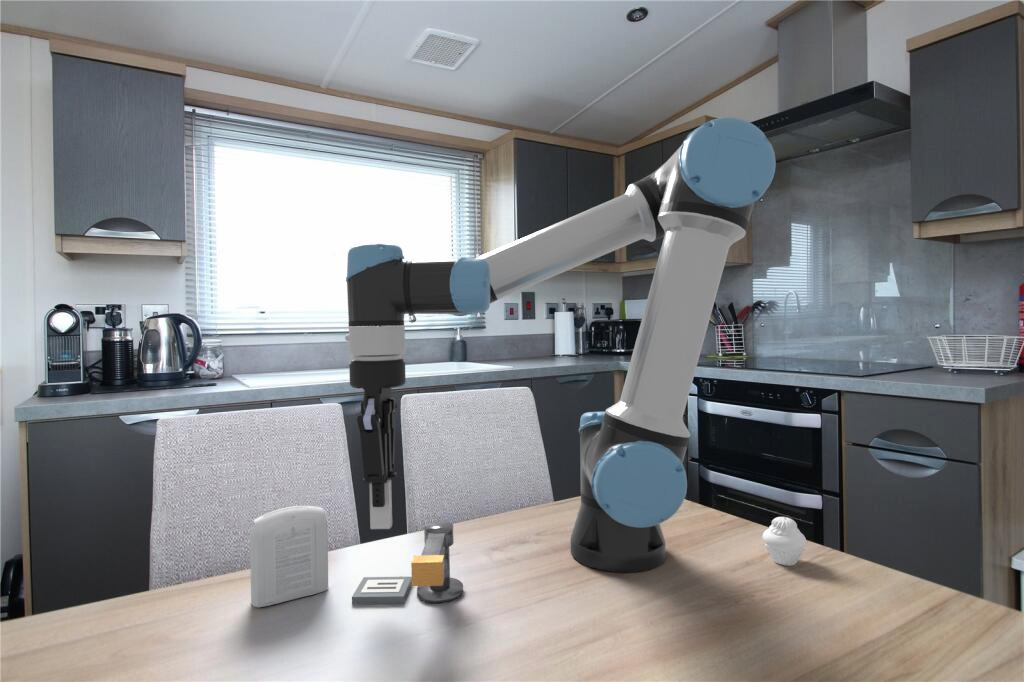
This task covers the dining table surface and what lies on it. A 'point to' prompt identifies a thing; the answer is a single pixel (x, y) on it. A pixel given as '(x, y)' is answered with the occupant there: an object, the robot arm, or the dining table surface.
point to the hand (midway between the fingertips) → (381, 526)
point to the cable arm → (432, 555)
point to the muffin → (784, 541)
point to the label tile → (382, 590)
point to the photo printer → (288, 555)
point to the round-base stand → (442, 587)
